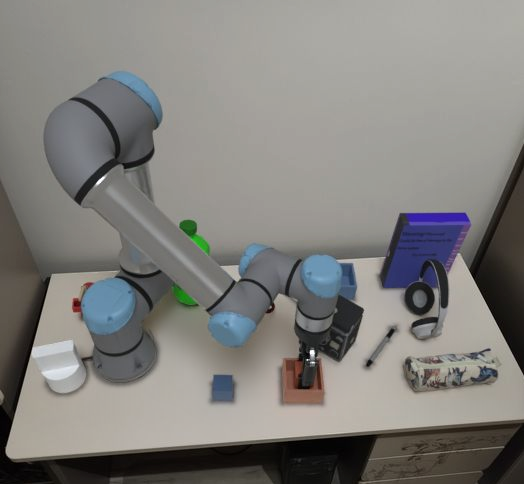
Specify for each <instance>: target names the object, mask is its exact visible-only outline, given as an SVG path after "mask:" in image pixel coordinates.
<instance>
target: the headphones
mask: <svg viewBox="0 0 524 484" xmlns="http://www.w3.org/2000/svg"><path fill="white" fill-rule="evenodd" d="M429 266H431V267H432V268H433V270H434V272H435V275H436V279H437V284H438V287H437V292H438V313H437V314H438V315H437V316H428V317H423V318H419V319H416V320H414V321H413V322H412V323H411V326H410V327H411V332H412V333H413V334H414V335H415V336H416V338H417V339H418V340H419V339H420V340H424V339H431V338H436V337H438V336H439V337H440V336H442V334H443V332H442V331H443V328H444V322H445V320H446V317H447V314H448V309H449V302H450V281H449V280H450V279H449V274H448V275H447V271H446V269H445V267H444V265H443V264H442V263H441V262H440V261H438V260H436V259H428V260H426V261H425V262H424V263H423V265H422V268H421V272H420V276H419V281H415V282H413V283H411V284H410V285H409V286H408V287H407V288H405V291H404V303H405V306H406V307H407V309H408V310H409V311H410V312H412V313H413V314H414V315H418V316H422V315H423V316H424V315H426V314H429V312H430V311H431V310H432V309H433V307H434V305H435V302H436V296H435V291H434V288H433V287H430V285H428V284H427V283H425V282H422V279H423V276H424V274H425V272H426V270H427V268H428V267H429Z"/></svg>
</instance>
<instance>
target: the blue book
mask: <svg viewBox="0 0 524 484" xmlns="http://www.w3.org/2000/svg"><path fill="white" fill-rule="evenodd" d="M471 227H472V223H471V220H470V218H469V217H468V214H467V213H466V212H399V213H398V217H397V219H396V223H395V226H394V230H393V231H392V235H391V239H390V242H389V245H388V247H387V248H388V249H387V251H386V253H385V257H384V261H383V263H382V264H383V265H382V267H381V270H380V273H379V279H380V282H381V286H382V289H407V287H408V286H409V285H410V284H411V283H413V282H415V281H419V276H420V272H421V268H422V265H423V263H424V262H425V261H426V260H428V259H436V260H438V261H440V262H441V263H442V264H443V265H444V267H445V269H446V271H447V275H448V276H449V273H450V271H451V269H452V266H453V265H454V263H455V260H456V259H457V256H458V254H459V252H460V250H461V248H462V246H463V244H464V242H465V239H466V237H467V235H468V233H469V230H470V229H471ZM422 282H425V283H427V284H428V285H430V287H431V288H438V284H437V279H436V275H435V272H434V270H433V268H432V267H431V266H429V267H428V268H427V270H426V272H425V274H424V276H423V279H422Z"/></svg>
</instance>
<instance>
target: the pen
mask: <svg viewBox="0 0 524 484" xmlns="http://www.w3.org/2000/svg"><path fill="white" fill-rule="evenodd" d="M397 327H398V324H395V325H393V326H392V327H391V328H390V330H389V331H388V332H387V333H386V335H385V336H384V338H383V339H382V341H381V342H380V343H379V345H378V346H377V348H376V349H375V350H374V352H373V353H372V355H371V356H370V357H369V359H368V360H367V362H366V364H365V365H366V367H368V368H369V367H371V366H372V364H373V363H374V362H375V360H376V359H377V357H378V356H379V355H380V353H381V352H382V350H383V349H384V347H385V346H386V345H387V343H388V342H389V340H390V339H391V338H392V336H393V335H394V333H395V332H396V331H397Z"/></svg>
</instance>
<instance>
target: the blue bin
mask: <svg viewBox="0 0 524 484" xmlns="http://www.w3.org/2000/svg"><path fill="white" fill-rule="evenodd" d="M339 264H340V265H341V268H342V279H341V289H340V292H339V295H341V296H343V297H344V298H346V299H348V300H350V301H351V300H353V301H354V300H355V297H356V294H357V291H358V282H357V277H356V272H355V266H354V263H353V262H339Z"/></svg>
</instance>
